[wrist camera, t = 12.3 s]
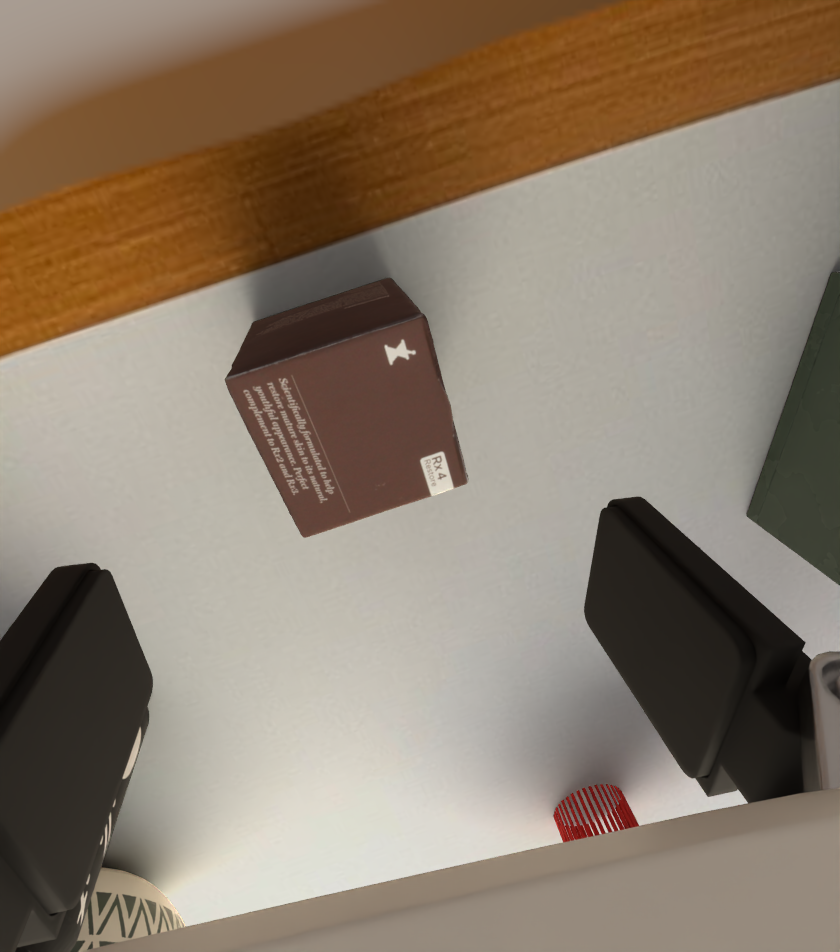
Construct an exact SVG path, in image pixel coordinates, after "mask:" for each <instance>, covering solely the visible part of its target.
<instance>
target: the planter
mask: <svg viewBox="0 0 840 952" xmlns="http://www.w3.org/2000/svg"><path fill="white" fill-rule="evenodd" d="M183 927H186V926H185V923H184V921H183V920H182V918H181V916H180V915H179V913H178V911H177V910H176V908H175V907H174V906H173V904H172V903H171V902H170V901H169V899H168V898H167V897H166V896H165V895H164V894H163V893H162V892H161V891H160V890H159V889H158V888H157V887H155V886H154V885H153V884H151V883H150V882H148V881H147V880H145V879H143V878H141V877H139V876H137V875H134V874H132V873H129V872H126V871H122V870H117V869H111V868H101V870H100V873H99V876H98V879H97V882H96V885H95V888H94V891H93V894H92V897H91V900H90V903H89V906H88V909H87V912H86V915H85V918H84V921H83V924H82V928H81V931H80V934H79V937H78V940H77V942H76V944H75V945H74V947H73V948H72V950H71V951H70V952H81V951H85V950H89V949H93V948H98V947H102V946H106V945H110V944H114V943H118V942H122V941H126V940H131V939H135V938H140V937H144V936H148V935H153V934H157V933H162V932H166V931H170V930H175V929H179V928H183Z"/></svg>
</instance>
